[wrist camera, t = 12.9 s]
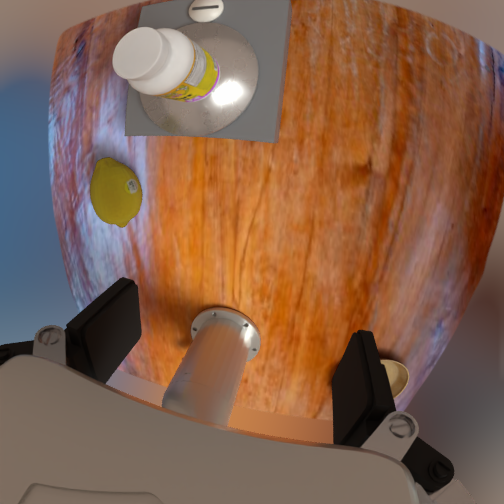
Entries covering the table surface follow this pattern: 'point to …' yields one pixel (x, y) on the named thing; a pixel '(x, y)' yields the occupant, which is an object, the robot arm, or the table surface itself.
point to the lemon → (115, 192)
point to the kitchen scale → (261, 40)
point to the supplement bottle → (166, 64)
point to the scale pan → (225, 94)
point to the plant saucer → (396, 376)
